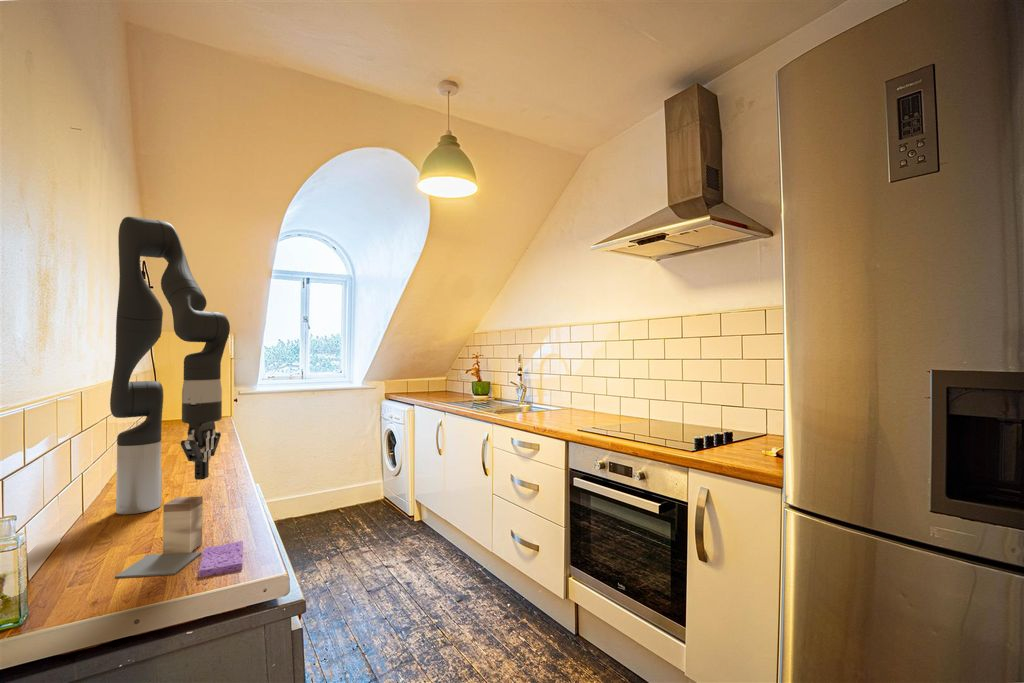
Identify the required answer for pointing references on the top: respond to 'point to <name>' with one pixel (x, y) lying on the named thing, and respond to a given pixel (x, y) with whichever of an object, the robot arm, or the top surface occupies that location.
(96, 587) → the top surface
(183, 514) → the birch block
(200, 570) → the sponges
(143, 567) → the mat
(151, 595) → the top surface
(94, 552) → the top surface
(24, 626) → the top surface
